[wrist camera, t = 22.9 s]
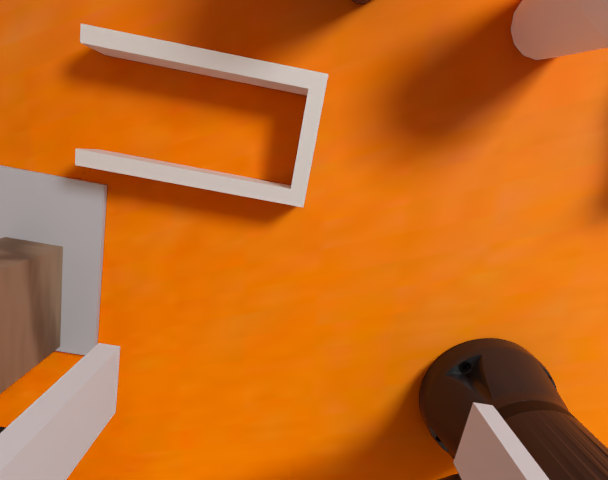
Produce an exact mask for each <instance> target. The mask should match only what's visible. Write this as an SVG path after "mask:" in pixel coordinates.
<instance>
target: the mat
mask: <svg viewBox="0 0 608 480" xmlns="http://www.w3.org/2000/svg"><path fill="white" fill-rule="evenodd" d="M106 199H107V185H105V184H99V183H94V182H88V181H83V180H77V179H72V178H67V177H61V176H56V175H50V174H45V173H39V172H34V171H29V170H23V169H18V168H12V167H7V166H1V165H0V238H4V237H9V238H15V239H21V240H27V241H33V242H39V243H45V244H51V245H56V246H62V247H63V264H62V299H61V335H60V347H59V348H57V349H56V350H55V351H61V352H67V353H73V354H79V355H86V354H87V353H88V352H90V351H91V350H92V349H93V348H94V347H95V346H96V345H97V344H98V328H99V312H100V296H101V279H102V263H103V247H104V231H105V215H106Z"/></svg>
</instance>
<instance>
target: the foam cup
mask: <svg viewBox="0 0 608 480" xmlns="http://www.w3.org/2000/svg"><path fill="white" fill-rule="evenodd" d="M511 33H512V38H513V42H514V45H515V46H516V47H517V49H518V50H519V51H520V52H521V53H522V55H523V56H526V57H529V58H532V59H534V60H541V59H548V58H555V57H560V56H565V55H571V54H576V53H581V52H587V51H592V50H597V49H603V48H608V0H522V1H521V3H520V4H519V6H518V7H517V9H516V10H515V12H514V15H513V20H512V25H511Z"/></svg>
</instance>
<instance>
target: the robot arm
mask: <svg viewBox="0 0 608 480" xmlns="http://www.w3.org/2000/svg"><path fill="white" fill-rule="evenodd" d="M119 358H120V346H114V345H108V344H102V343H98V344H97V345H96V346H95V347H94V348H93V349H92V350H91V351H90V352H88V353H87V354H86V355H85V356H84V357H83V358H82V359H81V360H80V361H79V362H78V363H76V364H75V365H74V366H73V367H72V368H71V369H70V370H69V371H68V372H67V373H65V374H64V375H63V376H62V377H61V378H60V379H59V380H58V381H57V382H56V383H55V384H53V385H52V386H51V387H50V388H49V389H48V390H47V391H46V392H45V393H44V394H43V395H41V396H40V397H39V398H38V399H37V400H36V401H35V402H34V403H33V404H32V405H31V406H29V407H28V408H27V409H26V410H25V411H24V412H23V413H22V414H21V415H20V416H19V417H17V418H16V419H15V420H14V421H13V422H12V423H11V424H10V425H9V426H8V427H7V428H5V427H0V480H66V479H67V478H68V476H69V475H70V474H71V472H72V471H73V470H74V468H75V467H76V465H77V464H78V463H79V461H80V460H81V459H82V457H83V456H84V455H85V453H86V452H87V450H88V449H89V448H90V446H91V445H92V444H93V442H94V441H95V439H96V438H97V437H98V435H99V434H100V433H101V431H102V430H103V429H104V427H105V426H106V424H107V423H108V422H109V420H110V419H111V418H112V416H113V415H114V414H115V412H116V400H117V386H118V372H119ZM419 404H420V410H421V414H422V416H423V419H424V421H425V423H426V425H427V427H428V429H429V432H430V433H431V435H432V436H433V438H434V439H435V441H436V442H437V443H438V444H439V445H440V446H441V447H442V448H443V449H444V450H445V451H447V452H448V453H449V454H450V455H451V456H452V458H453V459H454V462H453V463H454V465H455V467H456V469H457V471H458V474H455V475H451V476H448V477H445V478H441V479H438V480H608V448H607V447H606V446H604V445H603V444H602V443H601V442H600V441H599V440H598V439H597V438H596V437H595V436H594V435H593V434H592V433H591V432H590V431H589V430H588V429H587V428H585V427H584V426H583V425H582V424H581V423H580V422H579V421H578V420H577V419H576V418H575V417H574V416H573V415H572V414H571V413H570V412H569V411H568V409H567V407H566V405H565V403H564V402H563V400H562V399H561V397H560V395H559V393H558V392H557V389H556V386H555V383H554V381H553V379H552V377H551V375H550V374H549V372H548V371H547V369H546V368H545V367H544V366H543V364H542V363H541V362H539V361H538V360H537V359H536V358H535V357H534V356H533V355H532V354H530V353H529V352H528V351H527V350H526V349H524V348H523V347H521V346H519V345H517V344H515V343H512V342H510V341H506V340H502V339H493V338H485V339H476V340H472V341H468V342H465V343H462V344H460V345H458V346H456V347H454V348H452V349H450V350H449V351H447V352H446V353H444V354H443V355H442V356H441V357H439V358H438V359H437V360H436V361H435V362H434V364H433V365H432V366H431V367H430V369H429V370H428V372H427V373H426V375H425V377H424V379H423V382H422V385H421V388H420V394H419Z"/></svg>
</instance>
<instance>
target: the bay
mask: <svg viewBox="0 0 608 480" xmlns="http://www.w3.org/2000/svg"><path fill="white" fill-rule="evenodd" d="M80 43H82V44H84V45H86V46H88V47H90V48H92V49H94V50H96V51H98V52H100V53H102V54H104V55H107V56H112V57H117V58H122V59H127V60H132V61H137V62H142V63H147V64H152V65H157V66H161V67H166V68H171V69H176V70H181V71H186V72H191V73H196V74H201V75H206V76H211V77H216V78H221V79H226V80H231V81H236V82H241V83H246V84H251V85H256V86H261V87H266V88H271V89H276V90H281V91H286V92H291V93H296V94H301V95H306V96H307V100H306V105H305V111H304V117H303V122H302V128H301V133H300V139H299V145H298V150H297V156H296V161H295V167H294V173H293V178H292V184H291V185H286V184H281V183H276V182H270V181H265V180H260V179H254V178H249V177H244V176H238V175H233V174H228V173H223V172H217V171H212V170H207V169H201V168H196V167H191V166H185V165H180V164H175V163H169V162H164V161H159V160H154V159H148V158H143V157H138V156H132V155H127V154H122V153H116V152H111V151H106V150H100V149H76V154H75V165H77V166H83V167H88V168H93V169H99V170H104V171H110V172H115V173H120V174H126V175H131V176H136V177H142V178H147V179H153V180H158V181H163V182H169V183H174V184H179V185H185V186H190V187H196V188H201V189H206V190H212V191H217V192H223V193H228V194H233V195H239V196H244V197H249V198H255V199H260V200H266V201H271V202H276V203H282V204H287V205H292V206H298V207H303V206H304V201H305V196H306V191H307V185H308V180H309V175H310V169H311V164H312V159H313V153H314V148H315V143H316V137H317V132H318V127H319V121H320V116H321V111H322V106H323V100H324V95H325V90H326V84H327V79H328V74H326V73H321V72H316V71H311V70H306V69H301V68H296V67H291V66H286V65H282V64H277V63H272V62H267V61H262V60H257V59H252V58H247V57H242V56H237V55H233V54H228V53H223V52H218V51H213V50H208V49H203V48H198V47H193V46H188V45H184V44H179V43H174V42H169V41H164V40H159V39H154V38H149V37H144V36H139V35H135V34H130V33H125V32H120V31H115V30H110V29H105V28H100V27H95V26H90V25H86V24H81V32H80Z"/></svg>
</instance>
